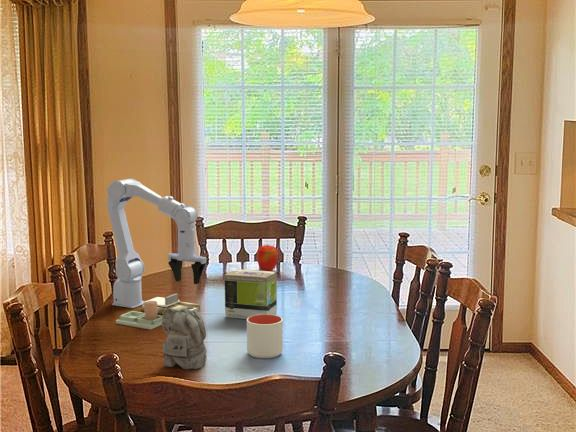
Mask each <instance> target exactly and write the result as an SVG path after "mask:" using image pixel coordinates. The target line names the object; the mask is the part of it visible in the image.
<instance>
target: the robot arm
mask: <svg viewBox="0 0 576 432" xmlns="http://www.w3.org/2000/svg"><path fill="white" fill-rule="evenodd" d="M106 191H107V192H106V193H107V200H106V208H107V212H108V217H109V220H110V225H111V229H112V232H113V233H112V234H113V237H114V240H115V244H116V248H117V253H118V256H117V258H116V259H115V275H116V277H117V279H115V281H114V283H113V287H112V290H113V291H112V293H113V294H112V296H113V303H112V306H117V307H124V308H129V309H135V308H137V307H140V306H142V305H144V304H143V302H145V301H146V300H143V296H142V295H143V294H142V278H143V276H142V275H143V274H144V273H145V270H146V268H145V264H144V261H143V260H142V259H141V256H140V254H139V253H138V252H136V251H135V247H134V243H133V239H132V235H131V231H130V227H129V223H128V220H127V214H126V211H125V206H126V205H127V203H128V202H129V201H130V200H131V199H132V198H133V197H138V198H140V199H142V200H144V201H147V202H149V203H151V204H152V205H155V206H156V207H157V210H158V211H159V212H160V213H162V214H164V215H165V216H168V217H170V218H171V219H173V220H174V221H175V222H174V223H175V224H176V226H177V253H174V252H173V253H172V252H171V253H170V252H169V253H168V254H167V260H169V261H168V263H167V264H168V265H169V267H170V268H171V270H172V273H173V277H174V280H175V282H176V283H178V282H181V280H182V267H183V262H190V263H191V265H190V267H191V269H192V273H193V275H192V277H193V284H194V285H199V284H200V282H201V281H200V280H201V276H202V273H203V271H204V269H205V267H206V265H207V256H202V255H197V254H196V226H195V225H196V221H197V220H198V212H197V210H196V208H194V207H193V206H191V205H188V206H187V205H186V204H185V203H182V202H180V201H177V200H175V199H174V197H173V196H171V195H166V196H163V197H162V195H159V194H158V193H157V192H155V191H154V190H152V189H150V188H148V187H147V186H145V185H144V184H142V183H141V181H138V180H136V179H134V178H126V179H121V180H113V181H112V182H110V184H109V185H108V187H107V188H106Z"/></svg>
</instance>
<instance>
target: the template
mask: <svg viewBox="0 0 576 432" xmlns="http://www.w3.org/2000/svg"><path fill="white" fill-rule="evenodd" d="M167 308H171V309H176V310H181V309H186V308H187V309H189V310H191V311H193V310H196V311H197V312H199V311H200V310H201V304H199V303H193V302H186V301H180V302H178V303H175V304H173V305H170V306H168V307H161V306H157V312H158V314H160V315H161V314H162V315H163V312H164V310H165V309H167ZM141 310H142V312H145V309H144V304H143V305H141Z"/></svg>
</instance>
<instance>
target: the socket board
mask: <svg viewBox="0 0 576 432" xmlns="http://www.w3.org/2000/svg"><path fill="white" fill-rule="evenodd" d="M162 316H163V315H161V314H158V319H155V320H153V321H151V320H145V312H144V311H142V312H141V311H135V310H131V311H128V312H126V313H123V314H121V315H119V317H118V319H116V320H115V324H118V325H122V326H123V325H124V326H129V327H135V328H140V329H147V330H150V331H151V330H153V329H156V328H157V327H160V326H162Z"/></svg>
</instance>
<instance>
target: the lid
mask: <svg viewBox="0 0 576 432" xmlns="http://www.w3.org/2000/svg"><path fill="white" fill-rule="evenodd" d="M144 301H145V302H147V301H157V307H162V308H166V307H168V306H170V305H173V304H175V303H178V302H181V300H180V299H179V294H178V293H173V294H171V295H168V296H166V297H163V296H162V297H161V296H156V297H153V298H151V299H148V300H144ZM143 305H144V302H143Z"/></svg>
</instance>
